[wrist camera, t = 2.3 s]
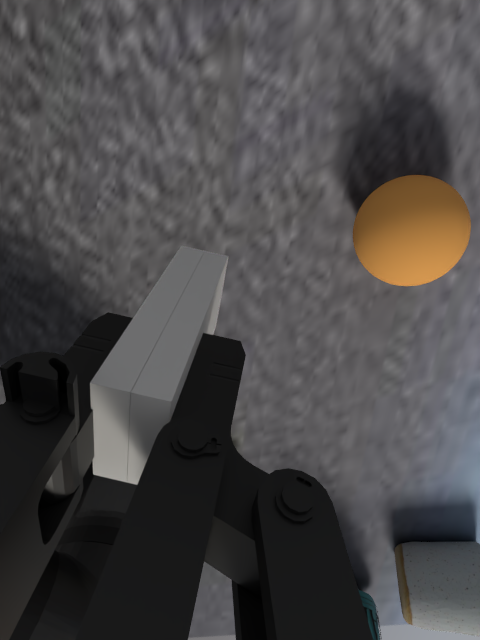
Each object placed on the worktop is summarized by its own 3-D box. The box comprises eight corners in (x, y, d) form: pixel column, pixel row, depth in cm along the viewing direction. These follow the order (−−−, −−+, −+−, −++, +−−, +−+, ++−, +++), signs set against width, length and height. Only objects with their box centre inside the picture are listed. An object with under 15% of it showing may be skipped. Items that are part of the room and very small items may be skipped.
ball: (336, 248, 27) (343, 291, 22) (367, 154, 24) (384, 179, 19) (425, 268, 27) (453, 316, 22) (470, 176, 24) (514, 207, 19)
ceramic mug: (388, 527, 42) (403, 612, 36) (476, 525, 40) (509, 615, 34) (395, 579, 48) (409, 661, 41) (473, 580, 46) (500, 666, 39)
